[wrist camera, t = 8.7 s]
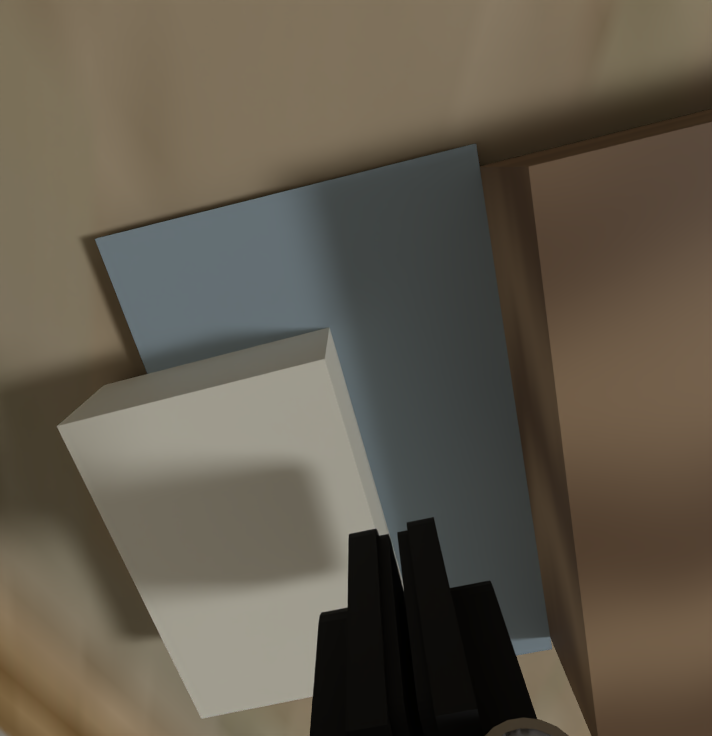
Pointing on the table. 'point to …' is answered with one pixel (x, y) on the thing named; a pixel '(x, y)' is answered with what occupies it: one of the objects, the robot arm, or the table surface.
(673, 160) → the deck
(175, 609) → the white rectangular block
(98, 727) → the table surface
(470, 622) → the robot arm
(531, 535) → the mat
